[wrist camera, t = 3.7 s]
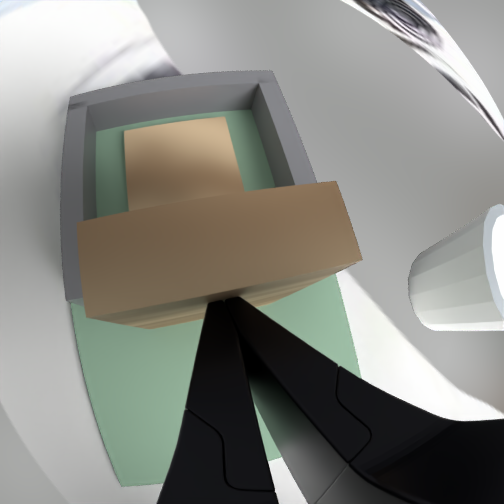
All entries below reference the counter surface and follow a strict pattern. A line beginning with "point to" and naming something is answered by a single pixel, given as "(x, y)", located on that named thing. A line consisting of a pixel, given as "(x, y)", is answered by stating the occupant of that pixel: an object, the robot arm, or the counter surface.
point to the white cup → (462, 278)
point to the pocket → (159, 107)
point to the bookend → (205, 232)
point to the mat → (181, 328)
